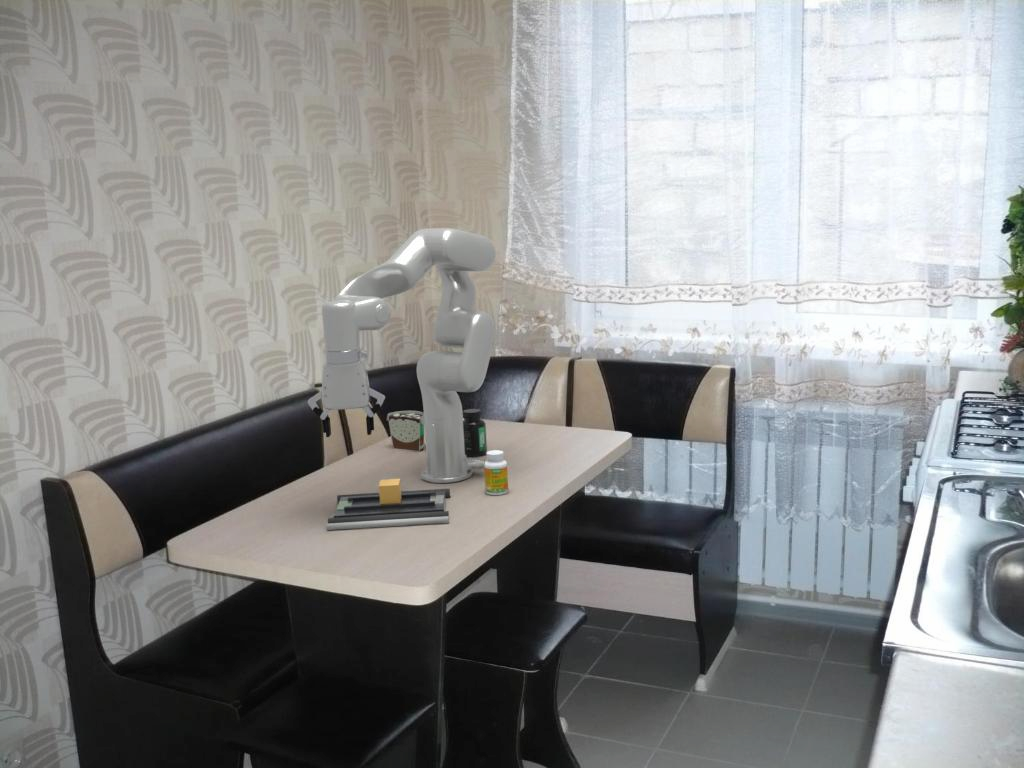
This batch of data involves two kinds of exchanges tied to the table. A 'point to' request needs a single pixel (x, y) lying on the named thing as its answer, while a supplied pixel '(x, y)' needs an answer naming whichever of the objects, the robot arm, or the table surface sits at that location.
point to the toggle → (390, 491)
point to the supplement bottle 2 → (495, 473)
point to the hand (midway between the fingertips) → (349, 434)
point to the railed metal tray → (408, 504)
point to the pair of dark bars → (389, 516)
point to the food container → (407, 430)
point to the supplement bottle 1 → (474, 433)
